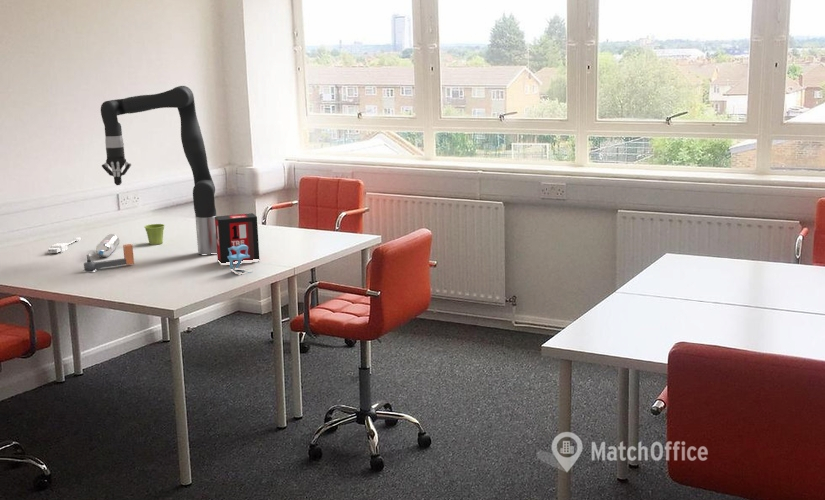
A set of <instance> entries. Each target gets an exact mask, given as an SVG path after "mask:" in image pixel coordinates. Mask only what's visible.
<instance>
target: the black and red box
mask: <svg viewBox="0 0 825 500" xmlns="http://www.w3.org/2000/svg"><path fill="white" fill-rule="evenodd" d="M215 228H216V242H217V254H216V255H217V261H218V260H219V261H220V262H221V263H226V262H229V259H228V257H227V256H229V254H230V253H229V250H228V248H231V247H232V246H236V247H238V246H239V245H241V244H244V245H246V246H248V251H247V254H248V255H250V257H249V258H244V259H242V261H243V260H253V259H259V260H260V246H259V243H260V242H259V230H258V229H259V228H258V217H257V215H256V214H254V213H253V212H252V213H251V212H250V213H242V214H241V213H239V214H231V215H230V214H229V215H218V216H217V215H216V216H215ZM230 251H231V253H232V255H235V254H237V252H236V251H235V250H233V249H231V250H230ZM245 252H246V250H241V251H240V253H241V254H245ZM245 255H246V254H245ZM235 261H239V260H233V262H235Z"/></svg>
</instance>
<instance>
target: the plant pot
mask: <svg viewBox="0 0 825 500" xmlns="http://www.w3.org/2000/svg"><path fill="white" fill-rule="evenodd" d="M165 226H166V225H165V224H161V223H153V224H152V223H151V224H148V225H145V226H143V228H144V229H145V231H146V234H147V235H146V236H147V239H148V244H149V245H151V246H154V245H155V246H157V245H161V244H163V242H164V241H163V240H164V239H163V238H164V229H165Z"/></svg>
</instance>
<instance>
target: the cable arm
mask: <svg viewBox="0 0 825 500" xmlns="http://www.w3.org/2000/svg"><path fill="white" fill-rule="evenodd" d="M133 247H134V246H133V244H131V243H128V244H127V243H126V244H123V245H122V248H123V258H116V259H110V260H103V261H101V260H100V261H91V262H90V263H88V262H87V261H86V262H84V263H83V268H84V270H85V271H91V270H95V269H97V268H100V269H103V268H109V267H110V268H111V267H117V266H124V265H126V266H128V265H129V266H130V265H135V258H134V248H133ZM97 270H98V269H97Z"/></svg>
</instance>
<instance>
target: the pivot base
mask: <svg viewBox="0 0 825 500" xmlns="http://www.w3.org/2000/svg"><path fill="white" fill-rule="evenodd" d="M85 257H86V262H88V263H90V262H92V258H91V257H92V256H91V254H86V256H85ZM98 270H99V269H95V270H91V271H85V270H82V273H84V274H91V273H95V272H98Z"/></svg>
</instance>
